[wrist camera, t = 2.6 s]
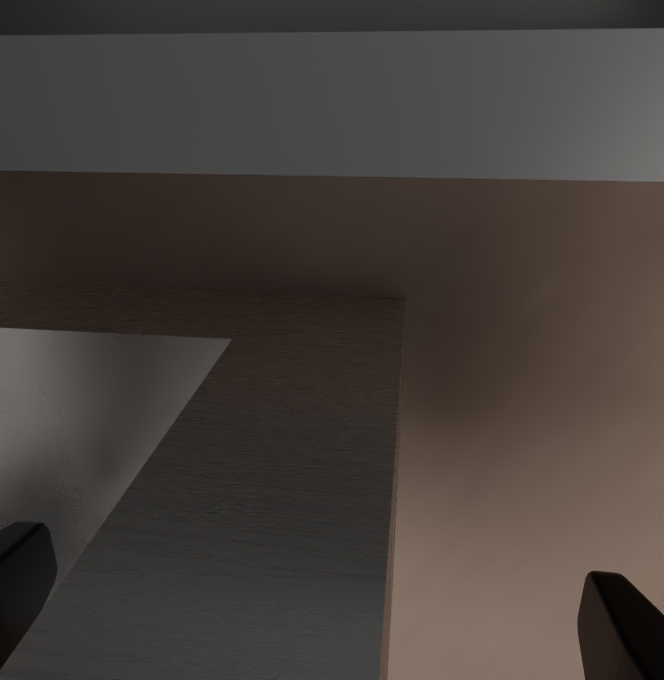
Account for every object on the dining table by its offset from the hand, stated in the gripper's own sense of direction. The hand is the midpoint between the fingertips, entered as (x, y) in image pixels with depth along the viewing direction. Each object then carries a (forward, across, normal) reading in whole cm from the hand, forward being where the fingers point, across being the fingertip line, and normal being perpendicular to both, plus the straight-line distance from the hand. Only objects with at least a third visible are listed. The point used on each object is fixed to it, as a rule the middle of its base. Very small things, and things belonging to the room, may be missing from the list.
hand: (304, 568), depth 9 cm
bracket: (+3, +3, 0) cm, 4 cm away
